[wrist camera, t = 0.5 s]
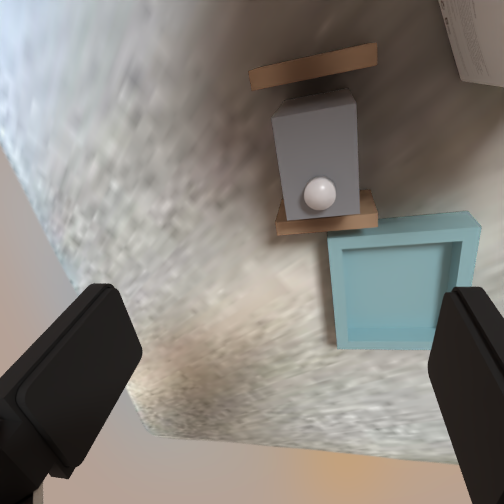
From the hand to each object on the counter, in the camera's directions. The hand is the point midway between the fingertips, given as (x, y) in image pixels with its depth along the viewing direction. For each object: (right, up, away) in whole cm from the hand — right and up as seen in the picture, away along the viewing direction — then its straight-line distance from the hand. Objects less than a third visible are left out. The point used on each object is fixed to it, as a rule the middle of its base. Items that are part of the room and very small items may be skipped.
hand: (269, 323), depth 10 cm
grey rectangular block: (+5, +12, +18) cm, 22 cm away
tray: (+14, -1, +24) cm, 28 cm away
